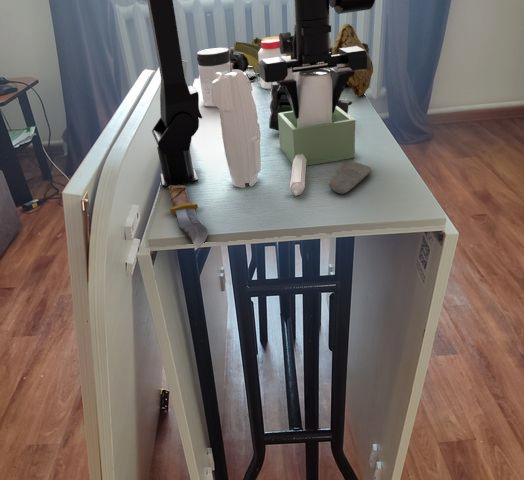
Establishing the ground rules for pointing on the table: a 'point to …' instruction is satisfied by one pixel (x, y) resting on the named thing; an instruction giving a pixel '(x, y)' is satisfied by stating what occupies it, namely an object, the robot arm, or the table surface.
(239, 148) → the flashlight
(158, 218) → the table surface
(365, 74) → the pastry
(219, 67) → the jar
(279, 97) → the cat figurine
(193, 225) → the knife
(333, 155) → the bin
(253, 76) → the pen
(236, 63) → the toy
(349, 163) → the stone
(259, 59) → the pill bottle
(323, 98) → the can
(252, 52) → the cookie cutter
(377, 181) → the table surface
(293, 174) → the marker
